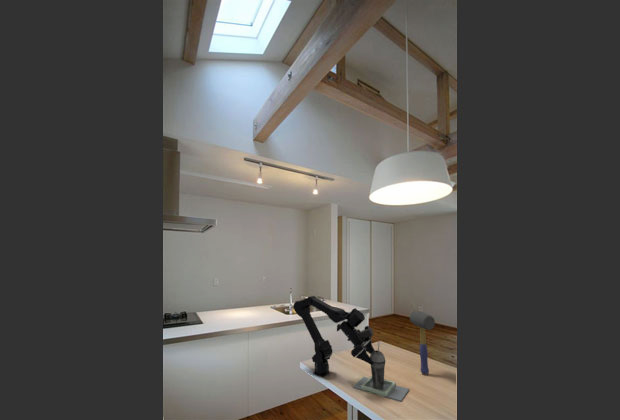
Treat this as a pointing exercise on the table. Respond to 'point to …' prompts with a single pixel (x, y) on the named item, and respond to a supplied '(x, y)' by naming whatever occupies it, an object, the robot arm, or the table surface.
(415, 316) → the rubber mallet
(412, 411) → the table surface
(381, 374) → the beverage cup
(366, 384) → the socket board
